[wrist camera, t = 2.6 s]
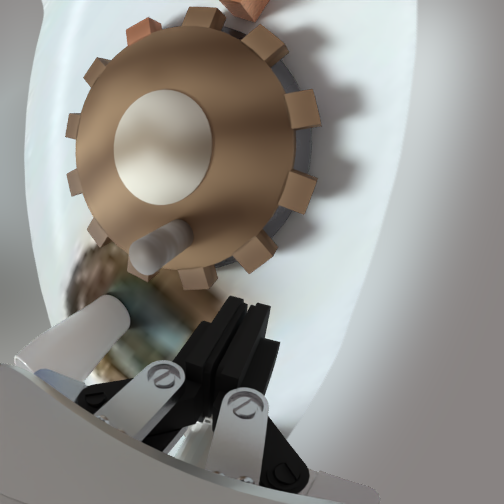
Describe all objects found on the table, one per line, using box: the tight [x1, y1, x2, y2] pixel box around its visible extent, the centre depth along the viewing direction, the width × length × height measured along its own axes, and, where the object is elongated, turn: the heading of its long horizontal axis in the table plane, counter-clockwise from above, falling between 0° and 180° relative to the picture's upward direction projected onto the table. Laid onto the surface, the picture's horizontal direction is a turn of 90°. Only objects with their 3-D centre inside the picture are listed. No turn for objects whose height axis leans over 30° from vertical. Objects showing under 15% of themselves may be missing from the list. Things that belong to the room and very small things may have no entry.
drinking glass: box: [14, 295, 130, 382], centre depth 26 cm, size 7×7×15 cm
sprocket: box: [65, 7, 322, 290], centre depth 18 cm, size 24×24×7 cm
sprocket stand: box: [214, 0, 311, 268], centre depth 21 cm, size 24×22×4 cm
